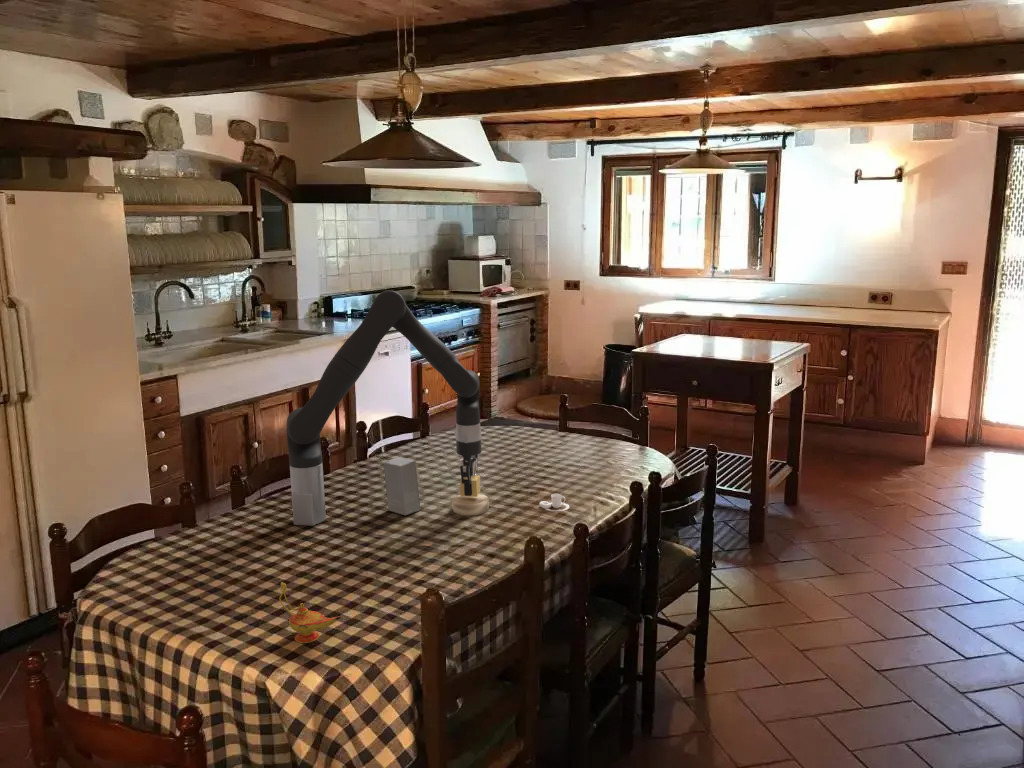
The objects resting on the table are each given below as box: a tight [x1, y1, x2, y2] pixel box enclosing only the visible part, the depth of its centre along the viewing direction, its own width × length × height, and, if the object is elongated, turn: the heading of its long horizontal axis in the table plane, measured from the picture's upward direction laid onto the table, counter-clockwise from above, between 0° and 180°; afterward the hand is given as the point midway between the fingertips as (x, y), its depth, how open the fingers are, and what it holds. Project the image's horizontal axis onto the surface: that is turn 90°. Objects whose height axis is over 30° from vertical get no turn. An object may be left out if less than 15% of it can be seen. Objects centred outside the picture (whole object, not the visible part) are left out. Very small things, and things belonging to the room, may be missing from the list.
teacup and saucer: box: [538, 493, 570, 512], centre depth 248 cm, size 9×8×4 cm
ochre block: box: [459, 474, 481, 497], centre depth 246 cm, size 5×5×5 cm
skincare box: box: [382, 456, 421, 516], centre depth 246 cm, size 8×7×16 cm
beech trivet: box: [451, 493, 490, 516], centre depth 248 cm, size 11×11×3 cm
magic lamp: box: [278, 581, 345, 644], centre depth 171 cm, size 7×18×11 cm, turn 60°
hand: (470, 492), depth 247 cm, fingers closed on ochre block, 5 cm apart
